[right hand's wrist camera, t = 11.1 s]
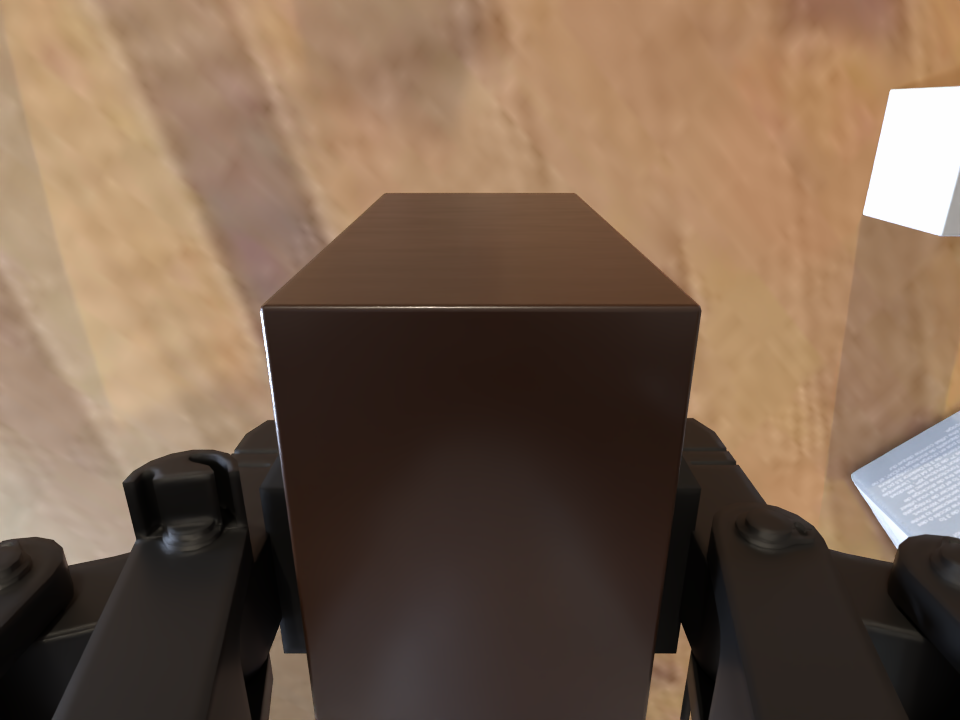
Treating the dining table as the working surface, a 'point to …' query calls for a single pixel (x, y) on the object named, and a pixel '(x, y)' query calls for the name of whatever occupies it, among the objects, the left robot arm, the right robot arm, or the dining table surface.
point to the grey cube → (919, 161)
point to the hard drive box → (917, 484)
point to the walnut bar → (480, 458)
